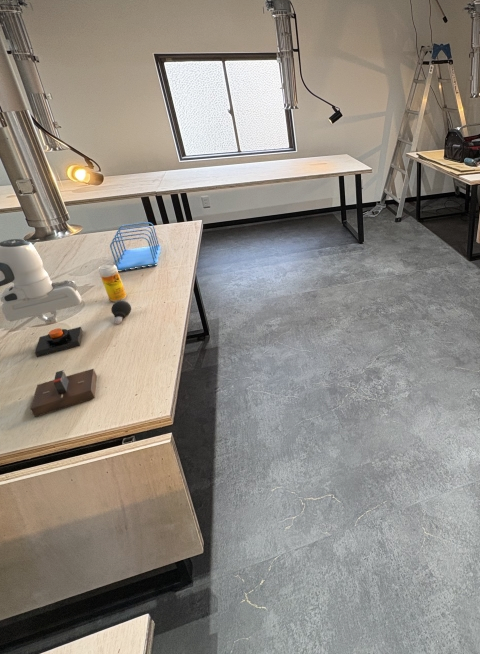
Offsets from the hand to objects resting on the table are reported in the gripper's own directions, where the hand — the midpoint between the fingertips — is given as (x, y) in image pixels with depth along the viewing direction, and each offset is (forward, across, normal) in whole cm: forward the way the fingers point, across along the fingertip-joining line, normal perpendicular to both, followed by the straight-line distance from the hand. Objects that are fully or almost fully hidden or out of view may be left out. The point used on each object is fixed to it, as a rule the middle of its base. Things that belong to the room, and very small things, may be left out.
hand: (52, 322), depth 139 cm
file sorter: (+9, -26, -66) cm, 71 cm away
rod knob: (+6, -5, +32) cm, 33 cm away
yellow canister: (+9, -17, -26) cm, 32 cm away
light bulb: (+9, -19, -8) cm, 22 cm away
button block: (+9, 0, 0) cm, 9 cm away
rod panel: (+9, -5, +32) cm, 34 cm away
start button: (+5, 0, 0) cm, 5 cm away
